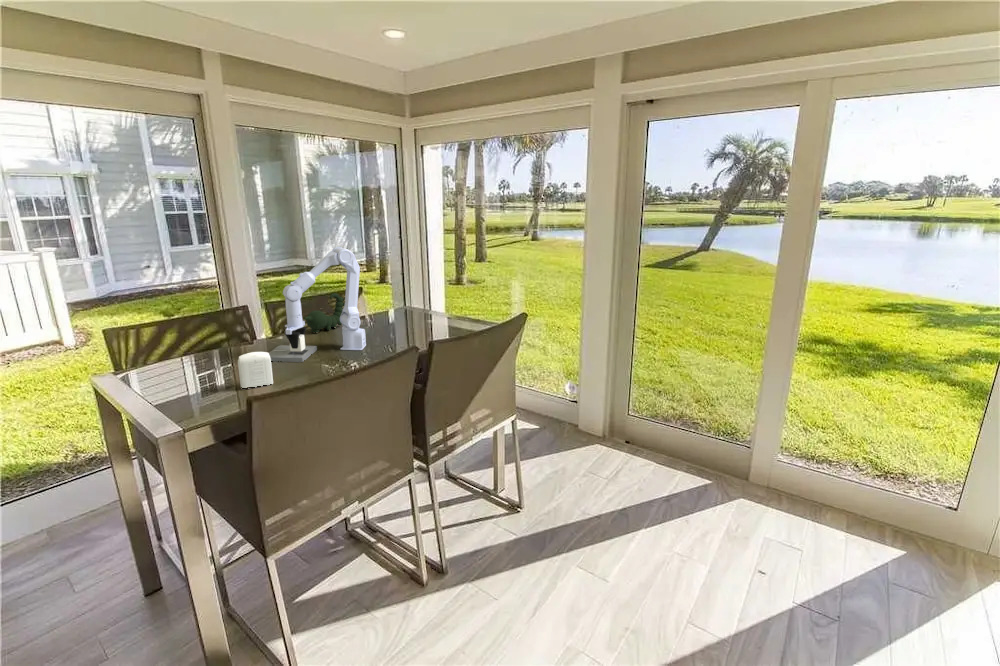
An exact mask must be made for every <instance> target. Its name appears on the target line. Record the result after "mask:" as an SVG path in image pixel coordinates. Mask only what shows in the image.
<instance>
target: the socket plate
mask: <svg viewBox="0 0 1000 666" xmlns="http://www.w3.org/2000/svg"><path fill="white" fill-rule="evenodd" d="M316 351H318V346H317V345H305V349H304V350H303V351H301V352H299V351H290V344H288V345H283V344H280V345H278V346H277V347H276V346H275V348H274V349H272V350H271V351H269V352H268V353H269V355H270V358H271V361H273V362H274V363H276V362H277V363H280V361H282V362H281V363H304V360H305V361H306V360H307V359H308V358H309V357H310V356H311V354H312V355H313V354H314V353H316ZM278 361H279V362H278ZM273 362H272V363H273Z"/></svg>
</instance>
